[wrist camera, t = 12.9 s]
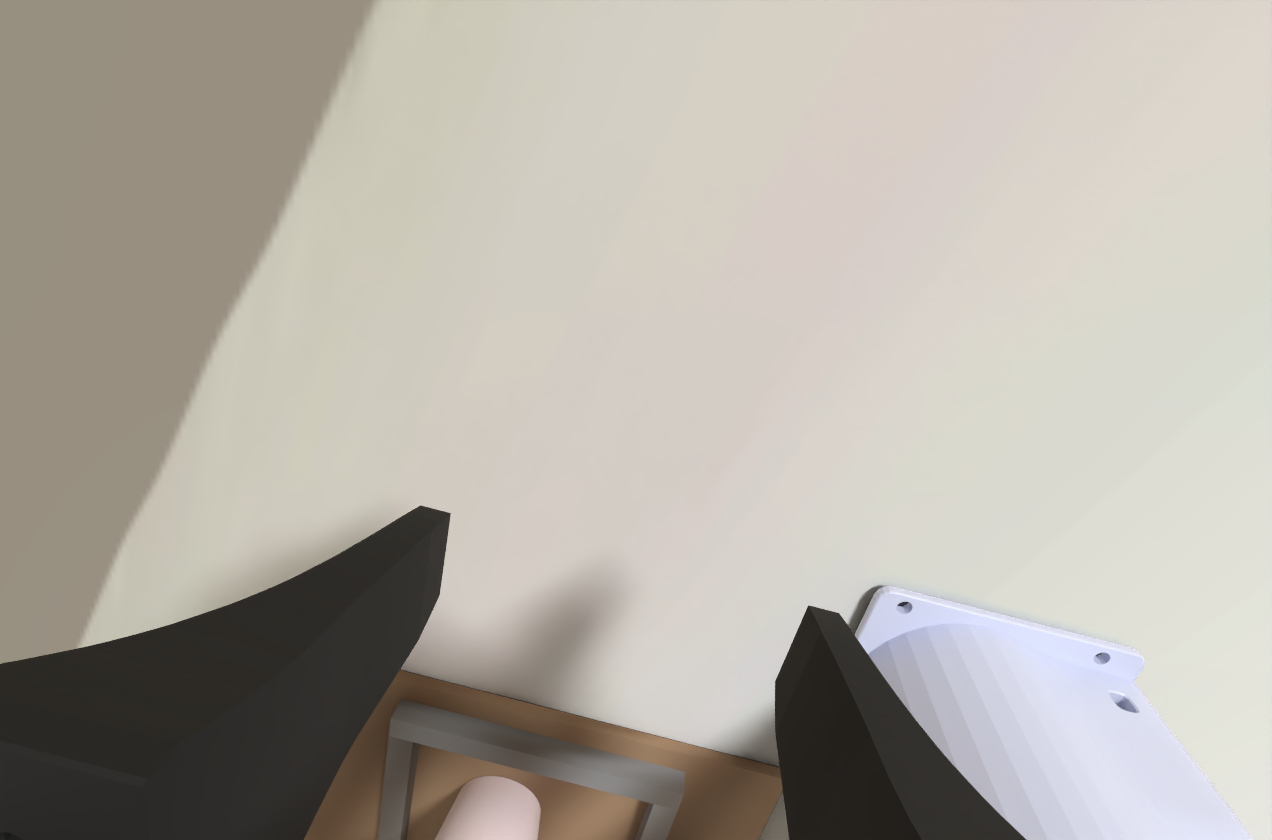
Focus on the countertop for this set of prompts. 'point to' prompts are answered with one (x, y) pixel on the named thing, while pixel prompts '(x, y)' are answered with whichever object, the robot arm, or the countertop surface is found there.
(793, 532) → the countertop surface
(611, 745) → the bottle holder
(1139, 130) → the countertop surface
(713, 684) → the countertop surface
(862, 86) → the countertop surface
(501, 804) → the smoothie
